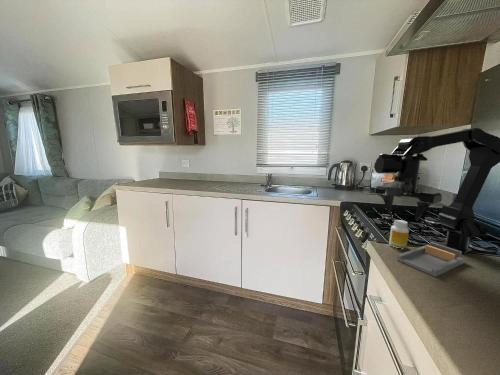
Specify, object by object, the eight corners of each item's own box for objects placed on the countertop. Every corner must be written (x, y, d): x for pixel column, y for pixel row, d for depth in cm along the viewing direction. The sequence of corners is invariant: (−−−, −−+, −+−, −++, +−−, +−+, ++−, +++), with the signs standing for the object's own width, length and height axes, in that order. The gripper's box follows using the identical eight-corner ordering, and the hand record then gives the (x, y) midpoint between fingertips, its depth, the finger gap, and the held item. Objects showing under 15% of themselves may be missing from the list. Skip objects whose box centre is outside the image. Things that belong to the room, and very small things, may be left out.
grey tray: (426, 249, 74) (428, 240, 73) (464, 262, 65) (466, 253, 65) (397, 260, 66) (398, 250, 66) (435, 276, 57) (437, 265, 57)
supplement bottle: (409, 250, 73) (413, 224, 72) (392, 248, 74) (396, 223, 73) (401, 244, 78) (405, 219, 77) (386, 242, 79) (389, 218, 78)
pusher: (426, 251, 71) (427, 244, 71) (454, 261, 65) (455, 254, 64) (424, 252, 71) (425, 245, 70) (452, 262, 64) (453, 254, 64)
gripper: (367, 172, 77) (363, 212, 79) (427, 177, 60) (420, 228, 63) (386, 171, 81) (381, 209, 84) (446, 176, 65) (438, 223, 67)
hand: (402, 216), depth 74 cm, fingers open, 9 cm apart
